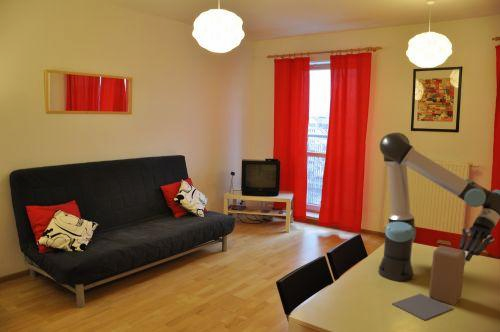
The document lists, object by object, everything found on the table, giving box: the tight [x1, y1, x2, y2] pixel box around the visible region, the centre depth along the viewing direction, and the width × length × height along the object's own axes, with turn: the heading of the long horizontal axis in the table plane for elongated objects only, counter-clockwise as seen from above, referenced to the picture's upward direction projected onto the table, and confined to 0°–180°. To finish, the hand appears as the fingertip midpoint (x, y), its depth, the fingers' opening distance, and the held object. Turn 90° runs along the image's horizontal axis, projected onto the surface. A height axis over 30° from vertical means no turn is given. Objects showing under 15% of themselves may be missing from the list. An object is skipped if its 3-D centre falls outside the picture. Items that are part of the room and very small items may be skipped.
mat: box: [391, 293, 454, 322], centre depth 154 cm, size 18×14×1 cm
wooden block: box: [428, 245, 466, 306], centre depth 161 cm, size 10×10×20 cm
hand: (460, 265), depth 165 cm, fingers closed
